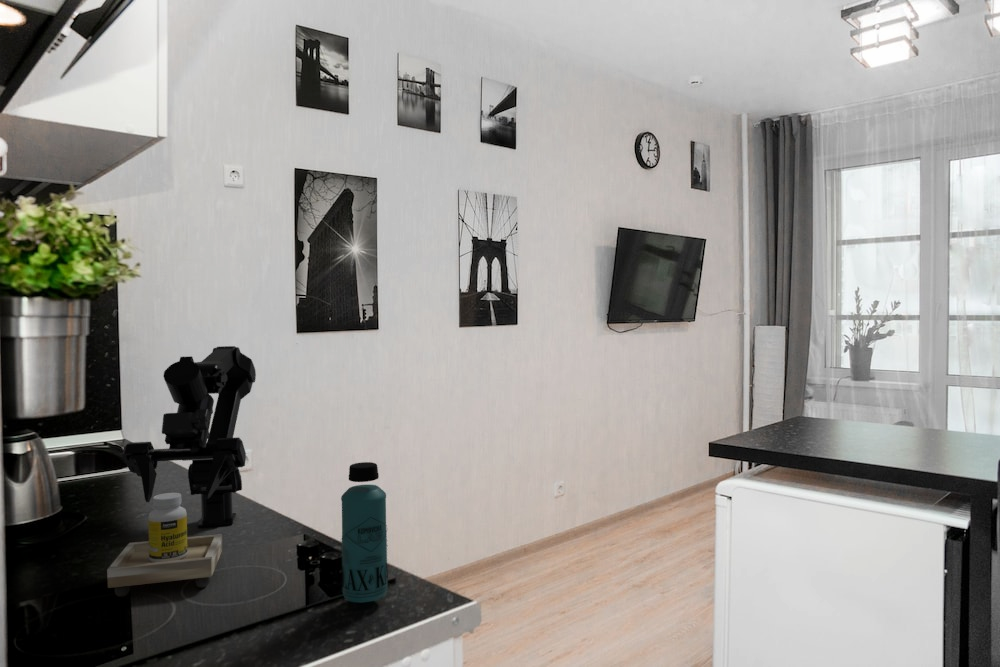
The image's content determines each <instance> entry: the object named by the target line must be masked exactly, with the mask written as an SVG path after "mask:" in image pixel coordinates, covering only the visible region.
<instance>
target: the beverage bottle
mask: <svg viewBox="0 0 1000 667" xmlns="http://www.w3.org/2000/svg"><path fill="white" fill-rule="evenodd" d="M378 468H379V467H378V464H377V463H375V462H371V461H369V462H368V461H364V462H363V461H362V462H356V463H353V464H350V465H349V468H348V481H350V482H352V483H353V482H354V483H365V482H366V483H368V482H373V481H376V480H378V479H379V469H378ZM340 500H341V547H340V549H341V550H340V552H341V563H340V566H341V567H340V568H341V570H340V571H341V572H340V573H341V576H340V577H341V581H342V591H341V593H342V595H343V597H344V599H345V600H346V601H348V602H352V603H369V602H373V601H377V600H379V599H382V598H383V597H384V596H385V595H386V594H387V591H388V588H389V568H388V548H389V547H388V546H389V545H388V543H387V542H388V539H387V538H388V535H387V532H388V525H387V504H386V503H387V502H386V501H387V493H386V492H385V491H384V489H382V488H381V487H380V486H379V485H376V484H358V485H353V486H350V487H348V489H346V490H345V492H343V494H342V495H341V497H340ZM387 547H388V548H387Z"/></svg>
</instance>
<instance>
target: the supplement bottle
mask: <svg viewBox="0 0 1000 667" xmlns="http://www.w3.org/2000/svg"><path fill="white" fill-rule="evenodd" d="M182 502H183V501H182V494H181V493H179V492H167V493H166V492H164V493H160V494H157V495H155V496H153V497H152V505H153V508H154V509H152V510H151V511H150V512H149V513H148V515H147V516H148V517H147V518H148V521H147V522H148V527H147V528H148V541H149V559H150V561H152V562H165V561H174V560H180V559H182V558H184V557H185V556H186V555H187V537H188V526H187V525H188V516H187V510H186V508H185V507H183V506H181V504H182Z"/></svg>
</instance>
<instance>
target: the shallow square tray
mask: <svg viewBox="0 0 1000 667" xmlns="http://www.w3.org/2000/svg"><path fill="white" fill-rule="evenodd" d="M222 553H223V534H222V533H220V534H219V533H217V534H210V535H209V534H208V535H201V536H200V535H199V536H187V555H186V556H185V557H184V558H182V559H180V560H174V561H165V562H152V561H150V559H149V540H146V541H145V540H144V541H135V542H129V543H128V544H127V545H126V546H125V547H124V549H123V550H122V551H121V552H120V554H118V556H117V557H115V559H114V560H113V561H112V563H111V564H110V566H108V568H107V569H106V572H107V573H106V574H107V575H106V576H107V577H106V578H107V588H108V589H111V588H114V594H115V595H116V596H117V597H118V598H119V597H120V598H121V597H126V596H128V594H129V593H130V591H131V586H138V585H139V586H140V585H145V584H147V585H148V584H157V583H159V584H160V583H166V582H174V581H183V580H184V581H186V580H194V579H195V585H196V587H198V588H205V587H207V586H208V585H209V584H210V581H211V578H210V577H213V574H214V572H215V569H216V568H217V564H218V562H219V559H220V557H221V554H222Z"/></svg>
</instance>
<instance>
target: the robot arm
mask: <svg viewBox="0 0 1000 667" xmlns="http://www.w3.org/2000/svg"><path fill="white" fill-rule="evenodd" d="M193 358H194V357H193V356H180V358H179V361H176V362H173V363H172V364H170V365H169V366H168V367H167V368H166V369H165V370H164V371H163V380H164V382H165V384H166V386H167V388H168V391H169V393H170V395H171V397H172V400H173V402H174V403H176V404H178V406H177V407H178V408H177V412H167V413H164V414H163V417H162V423H161V426H162V427H161V434H162V435H165V438H164V442H165V444H166V445H169V447H168V448H154V446H153V444H152V441H135V442H128V443H127V444H126V445H125V446H123V449H122V453H121V457H122V459H123V461H124V463H125V465H126V467H127V468H128V470H129V472H130V473H133V474H136V475H137V476H138V477H141V481H142V482H141V483H142V489H143V495H144V500H145V502H146V503H150V502H151V498H153V497H152V496H153V492H154V488H155V483H156V479H157V474H158V473H157V472H156V469H157V467H158V462H168V461H169V462H170V461H171V462H173V461H192V462H191V463H190V464H189V466H188V470H187V478H188V484H189V485H188V486H189V490H190V491H189V492H190V496H195V495H200V505H201V506H200V509H201V518H200V520H199V521H198V523H197V528H207V527H217V526H228V525H233V524H234V523H235V521H236V517H237V513H236V512H233V494H235V493H236V492H238V491H239V492H240V491H242V490H243V480H242V475H241V471H240V468H244V467H245V466H246V459H247V455H246V454H247V453H246V449H245V446H244V442H243V440H242V439H241V438H240V437H234V433H235V428H236V424H237V420H238V415H239V411H240V406H241V401H242V399H244V398H245V397H246V396H248V395H249V394H250V393H251V391H252V387H253V384H254V383H255V382H256V377H257V374H256V367H255V364H254V363H253V360H252V359H251V358H250V357H249V356H247V355H245V354H244V353H242V351H241V350H240V347H238V346H237V347H236V346H235V345H234V346H233V345H231V346H230V345H229V346H216V347H213V349H212V352H211V353H210V354H209V355H207V356H206V357H205V358H204V359H202V361H197V362H195V361H194V359H193ZM211 394H218V397H217V401H216V405H215V404H214V402H215V399H214V398H213V396H212V395H211ZM214 405H215V408H214ZM213 408H214V410H213ZM212 415H213V417H212ZM211 419H212V421H211Z"/></svg>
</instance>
